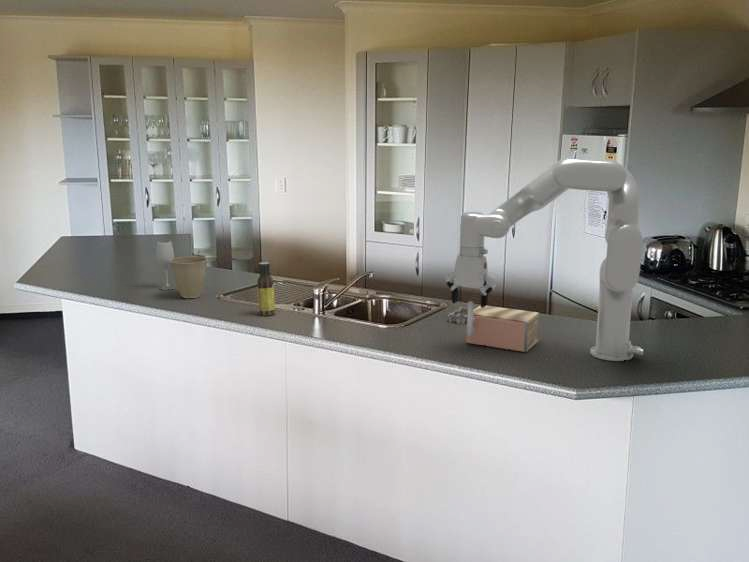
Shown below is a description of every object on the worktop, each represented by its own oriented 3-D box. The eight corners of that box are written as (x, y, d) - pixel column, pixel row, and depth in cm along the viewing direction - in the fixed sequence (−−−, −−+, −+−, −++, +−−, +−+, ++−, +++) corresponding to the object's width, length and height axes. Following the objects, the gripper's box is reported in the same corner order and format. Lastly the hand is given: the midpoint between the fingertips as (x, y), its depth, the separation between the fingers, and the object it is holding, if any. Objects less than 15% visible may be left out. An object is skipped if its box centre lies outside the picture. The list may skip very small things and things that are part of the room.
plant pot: (195, 302, 284) (193, 264, 280) (165, 299, 289) (162, 261, 286) (216, 294, 297) (214, 257, 294) (187, 291, 303) (184, 255, 299)
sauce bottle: (278, 314, 266) (276, 262, 262) (265, 317, 262) (262, 265, 257) (268, 311, 271) (266, 260, 266) (255, 314, 266) (252, 262, 262)
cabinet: (537, 341, 231) (538, 312, 228) (525, 352, 220) (527, 321, 218) (480, 333, 240) (481, 305, 238) (466, 342, 230) (467, 313, 228)
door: (527, 351, 220) (529, 306, 217) (522, 355, 216) (524, 309, 213) (467, 341, 230) (468, 298, 227) (462, 345, 226) (463, 301, 223)
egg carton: (463, 316, 263) (463, 305, 262) (479, 320, 257) (479, 309, 256) (444, 321, 256) (445, 310, 255) (460, 325, 250) (461, 314, 249)
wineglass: (155, 290, 305) (151, 242, 300) (163, 286, 312) (160, 240, 308) (171, 291, 304) (168, 243, 299) (179, 287, 311) (176, 240, 306)
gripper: (502, 252, 218) (499, 305, 222) (450, 247, 226) (449, 298, 230) (493, 256, 212) (490, 311, 215) (441, 250, 220) (439, 303, 224)
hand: (469, 304), depth 223 cm, fingers open, 9 cm apart
